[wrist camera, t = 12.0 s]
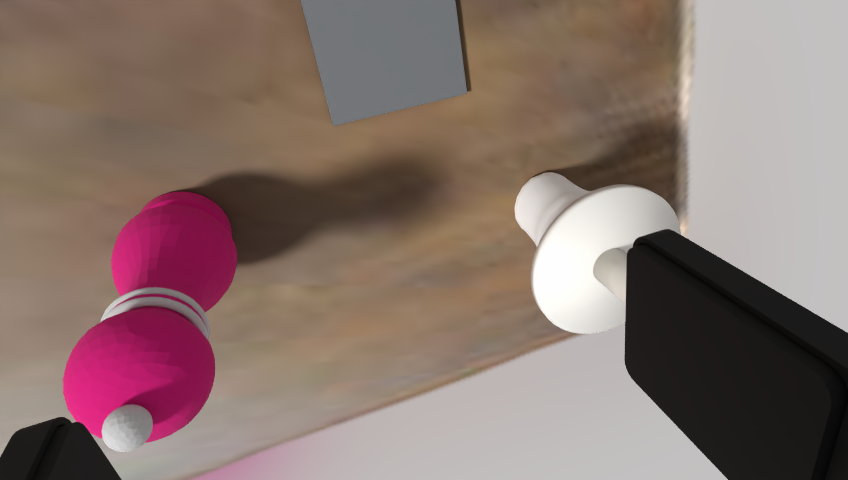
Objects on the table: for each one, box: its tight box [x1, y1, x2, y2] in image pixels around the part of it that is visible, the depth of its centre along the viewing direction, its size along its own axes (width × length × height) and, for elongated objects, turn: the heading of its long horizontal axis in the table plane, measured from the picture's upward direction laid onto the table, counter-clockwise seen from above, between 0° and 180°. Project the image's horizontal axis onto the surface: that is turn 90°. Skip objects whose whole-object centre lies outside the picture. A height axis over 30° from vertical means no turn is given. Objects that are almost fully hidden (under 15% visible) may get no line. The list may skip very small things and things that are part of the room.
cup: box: [515, 172, 591, 246], centre depth 40 cm, size 9×9×10 cm
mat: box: [301, 0, 467, 126], centre depth 35 cm, size 12×10×1 cm
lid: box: [530, 184, 681, 334], centre depth 33 cm, size 11×11×6 cm
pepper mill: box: [63, 192, 237, 452], centre depth 29 cm, size 7×7×20 cm
